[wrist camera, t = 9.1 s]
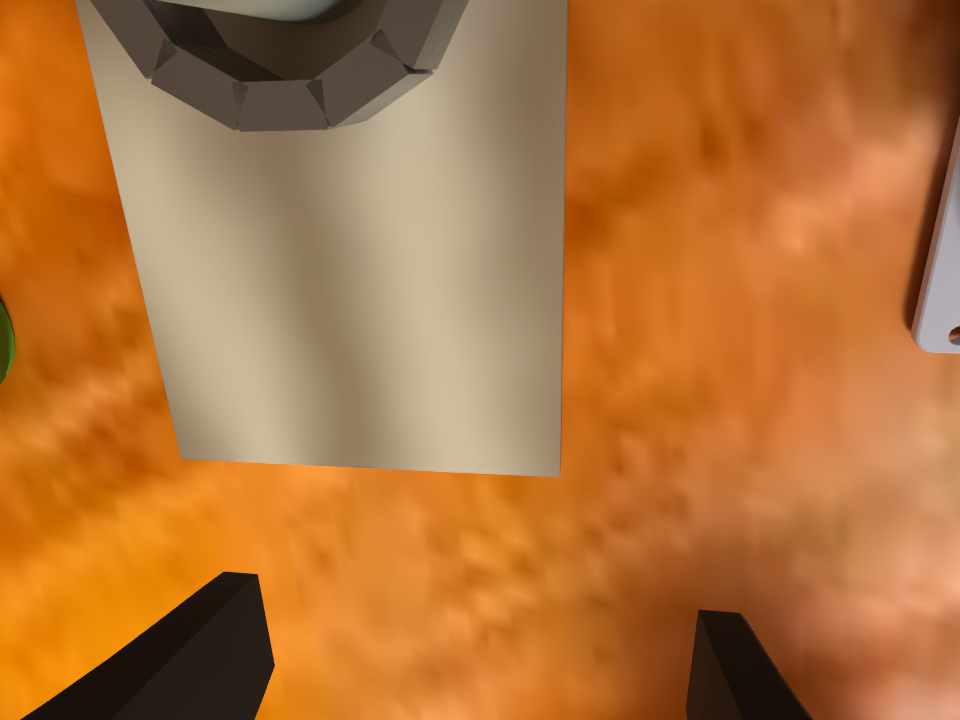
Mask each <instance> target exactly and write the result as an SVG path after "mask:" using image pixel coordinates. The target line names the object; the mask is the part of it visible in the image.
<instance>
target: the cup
mask: <svg viewBox="0 0 960 720" xmlns="http://www.w3.org/2000/svg"><path fill="white" fill-rule="evenodd" d="M13 358H14V335H13V331H12V327H11V323H10V320H9V318H8V315H7V313H6V311H5V309H4V307H3V305H2V303H1V302H0V384H1V383H2V381H3V380H4V378H5V376H6V374H7V373H8V371H9V370H10V368H11V365H12V361H13Z"/></svg>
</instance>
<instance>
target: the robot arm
mask: <svg viewBox="0 0 960 720" xmlns="http://www.w3.org/2000/svg"><path fill="white" fill-rule="evenodd" d="M958 326H960V116H959V120H958V125H957V129H956V134H955V138H954V143H953V147H952V151H951V156H950V160H949V165H948V169H947V174H946V178H945V183H944V187H943V191H942V196H941V200H940V205H939V209H938V214H937V218H936V223H935V227H934V232H933V236H932V240H931V245H930V249H929V254H928V258H927V263H926V267H925V272H924V276H923V280H922V285H921V289H920V294H919V298H918V303H917V307H916V312H915V316H914V320H913V325H912V329H911V337H912V339H913V341H914V343H915V344H916V345H918V346H919V347H920V348H922V349H923V350H925V351H927V352H932V353H960V336H959V337H958V338H956V339H952V340H949V336H948V335H949V334H950V332H951V330H953V329H954V328H955V327H958ZM274 666H275V664H274V659H273V654H272V648H271V643H270V637H269V632H268V627H267V621H266V616H265V611H264V605H263V600H262V595H261V589H260V584H259V579H258V574H248V573H235V572H223V573H221V574H220V575H219V576H217V577H216V578H214V579H213V580H212V581H210V582H209V583H208V584H206V585H205V586H204V587H202V588H201V589H200V590H198V591H197V592H196V593H194V594H193V595H192V596H190V597H189V598H188V599H186V600H185V601H184V602H183V603H181V604H180V605H179V606H177V607H176V608H175V609H173V610H172V611H171V612H170V613H168V614H167V615H166V616H164V617H163V618H162V619H160V620H159V621H158V622H157V623H155V624H154V625H153V626H151V627H150V628H149V629H147V630H146V631H145V632H143V633H142V634H141V635H139V636H138V637H137V638H135V639H134V640H133V641H131V642H130V643H129V644H127V645H126V646H125V647H123V648H122V649H121V650H119V651H118V652H117V653H115V654H114V655H113V656H111V657H110V658H109V659H107V660H106V661H105V662H103V663H102V664H100V665H99V666H97V667H96V668H95V669H93V670H92V671H90V672H89V673H87V674H86V675H85V676H83V677H82V678H80V679H79V680H77V681H76V682H75V683H73V684H72V685H70V686H69V687H67V688H66V689H65V690H63V691H62V692H60V693H59V694H57V695H56V696H55V697H53V698H52V699H50V700H49V701H47V702H46V703H45V704H43V705H42V706H40V707H39V708H37V709H36V710H34V711H33V712H31V713H30V714H28V715H27V716H25V717H24V718H22V719H20V720H254V719H255V717H256V714H257V712H258V709H259V707H260V704H261V702H262V699H263V696H264V694H265V691H266V688H267V685H268V683H269V680H270V677H271V674H272V672H273V669H274ZM686 711H687V720H813V719H812V718H811V716H810V715H809V714H808V712H807V711H806V709H805V708H804V707H803V705H802V704H801V702H800V701H799V700H798V698H797V697H796V695H795V694H794V692H793V691H792V690H791V688H790V687H789V685H788V684H787V682H786V681H785V679H784V678H783V676H782V675H781V673H780V672H779V670H778V669H777V667H776V666H775V664H774V663H773V661H772V660H771V658H770V657H769V655H768V654H767V652H766V651H765V649H764V648H763V646H762V644H761V643H760V641H759V640H758V638H757V636H756V635H755V633H754V632H753V630H752V628H751V627H750V625H749V624H748V622H747V620H746V619H745V618H744V617H743V616H742V615H741V614H740V613H733V612H721V611H708V610H698V618H697V625H696V633H695V641H694V649H693V657H692V664H691V672H690V680H689V688H688V695H687V703H686Z"/></svg>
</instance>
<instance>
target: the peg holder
mask: <svg viewBox="0 0 960 720" xmlns="http://www.w3.org/2000/svg"><path fill="white" fill-rule="evenodd" d="M75 3H76V7H77V11H78V16H79V20H80V24H81V29H82V33H83V37H84V42H85V46H86V50H87V55H88V59H89V63H90V67H91V72H92V76H93V80H94V85H95V89H96V93H97V98H98V102H99V106H100V111H101V115H102V119H103V123H104V128H105V132H106V136H107V141H108V145H109V149H110V154H111V158H112V162H113V167H114V171H115V175H116V179H117V184H118V188H119V192H120V197H121V201H122V205H123V210H124V214H125V218H126V223H127V227H128V231H129V236H130V240H131V244H132V248H133V253H134V257H135V261H136V266H137V270H138V274H139V279H140V283H141V287H142V292H143V296H144V300H145V304H146V309H147V313H148V317H149V322H150V326H151V330H152V335H153V339H154V343H155V348H156V352H157V356H158V360H159V365H160V369H161V373H162V378H163V382H164V386H165V391H166V395H167V399H168V404H169V408H170V412H171V416H172V421H173V425H174V429H175V434H176V438H177V442H178V447H179V451H180V455H181V459H189V460H210V461H231V462H252V463H273V464H293V465H314V466H335V467H356V468H377V469H398V470H418V471H439V472H460V473H481V474H502V475H523V476H543V477H560V467H561V424H562V359H563V294H564V228H565V163H566V98H567V33H568V0H363V1H362V2H361V3H360V4H359V5H358V6H357V7H356V8H354V9H353V10H352V11H350V12H349V13H348V14H346V15H344V16H342V17H341V18H339V19H336V20H333V21H331V22H327V23H323V24H316V25H304V24H295V23H289V22H283V21H278V20H272V19H266V18H260V17H254V16H248V15H242V14H236V13H230V12H224V11H218V10H212V9H206V8H200V7H195V6H189V5H183V4H177V3H171V2H165V1H159V0H75Z"/></svg>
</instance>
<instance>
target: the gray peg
mask: <svg viewBox="0 0 960 720" xmlns="http://www.w3.org/2000/svg"><path fill="white" fill-rule="evenodd" d="M159 1H165V2H171V3H177V4H183V5H189V6H195V7H200V8H206V9H212V10H218V11H224V12H230V13H236V14H242V15H248V16H254V17H260V18H266V19H272V20H278V21H283V22H289V23H295V24H304V25H316V24H323V23H327V22H331V21H333V20H336V19H339V18H341V17H342V16H344V15H346V14H348V13H349V12H350V11H352V10H353V9H354V8H356V7H357V6H358V5H359V4H360V3H361V2H362V1H363V0H159Z"/></svg>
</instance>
